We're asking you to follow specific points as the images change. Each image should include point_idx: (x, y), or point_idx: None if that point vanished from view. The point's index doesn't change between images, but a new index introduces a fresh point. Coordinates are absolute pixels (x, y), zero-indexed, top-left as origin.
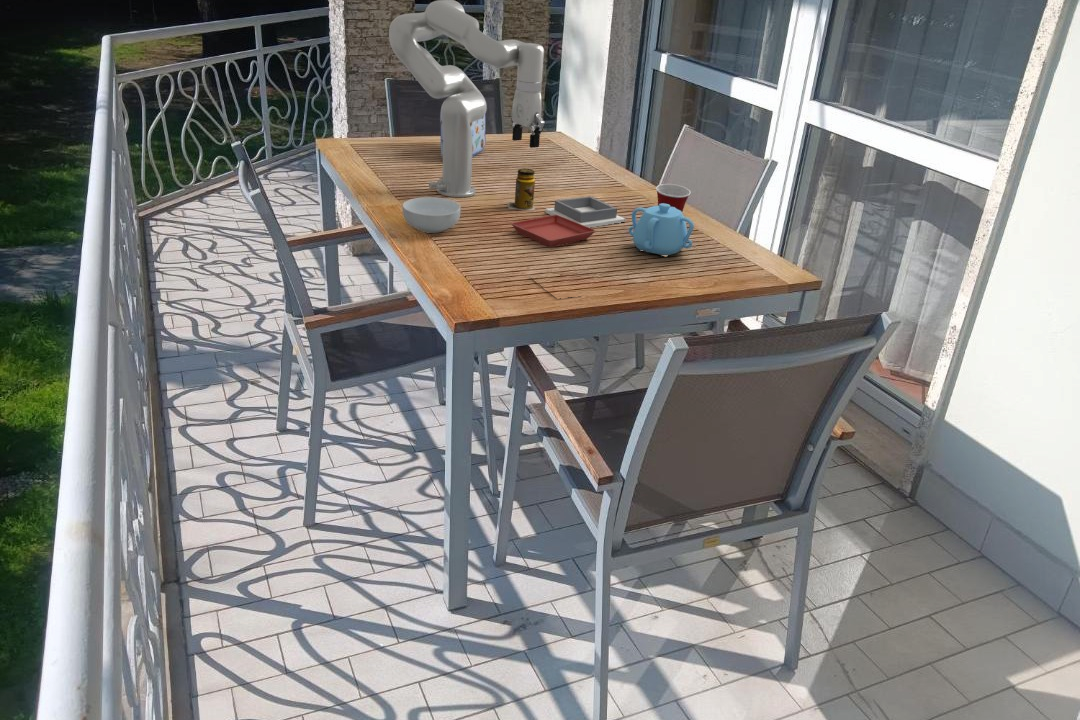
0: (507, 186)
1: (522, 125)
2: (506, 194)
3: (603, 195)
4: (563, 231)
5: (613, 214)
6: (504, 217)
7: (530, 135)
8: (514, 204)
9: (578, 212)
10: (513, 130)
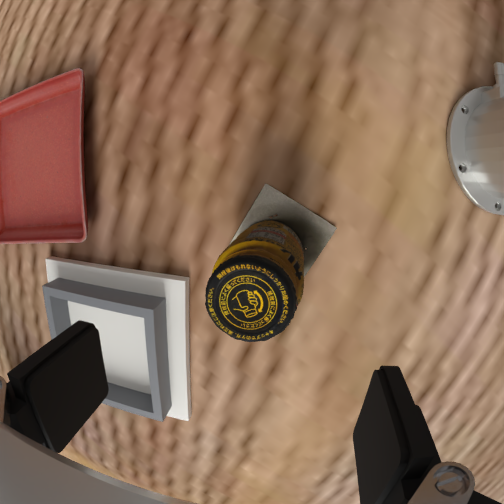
0: (463, 343)
1: (40, 449)
2: (411, 290)
3: (255, 481)
4: (40, 201)
5: None
6: (200, 117)
7: (21, 372)
8: (305, 238)
9: (52, 287)
10: (409, 432)
